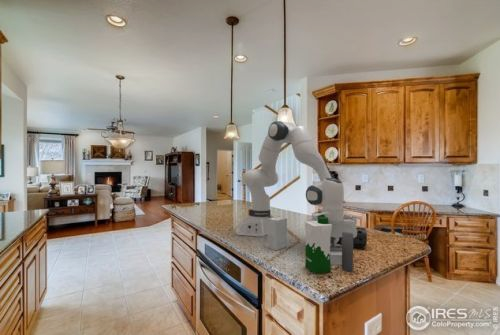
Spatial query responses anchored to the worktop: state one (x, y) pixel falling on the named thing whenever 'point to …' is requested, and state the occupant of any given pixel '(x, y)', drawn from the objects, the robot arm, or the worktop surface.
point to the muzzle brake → (358, 238)
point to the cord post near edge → (347, 251)
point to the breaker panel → (336, 255)
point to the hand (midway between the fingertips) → (332, 246)
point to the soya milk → (318, 245)
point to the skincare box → (277, 233)
